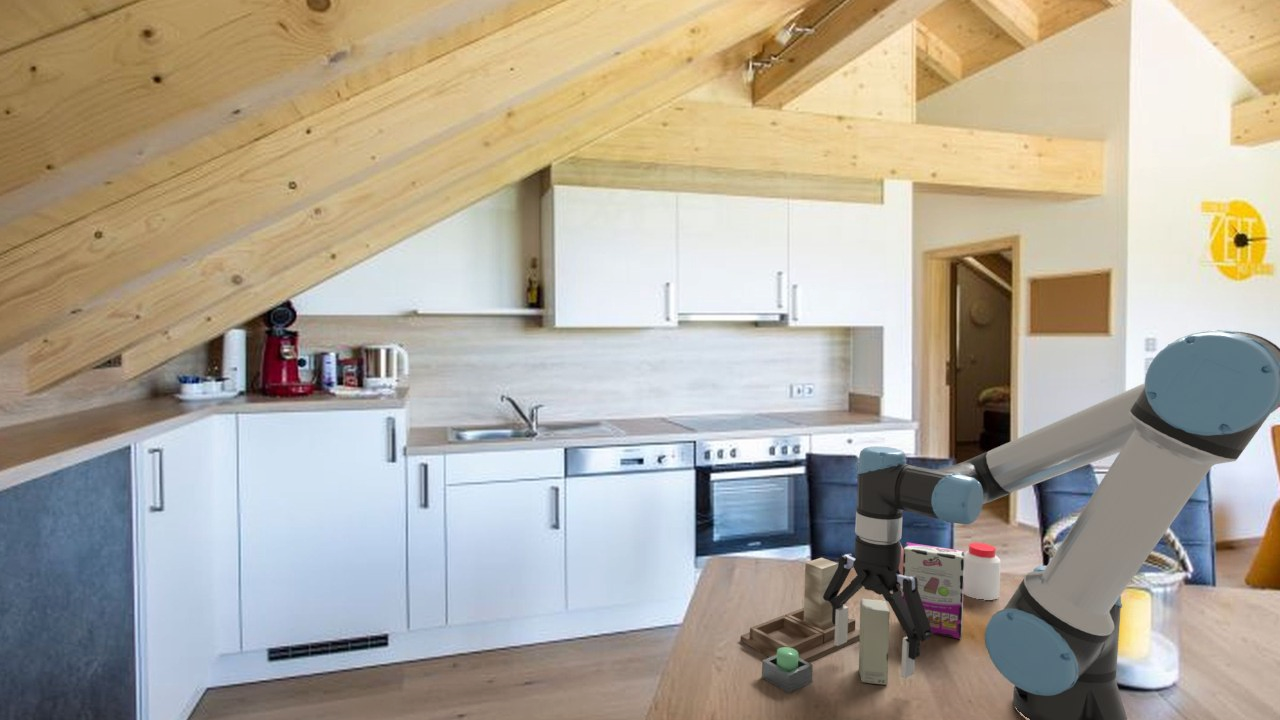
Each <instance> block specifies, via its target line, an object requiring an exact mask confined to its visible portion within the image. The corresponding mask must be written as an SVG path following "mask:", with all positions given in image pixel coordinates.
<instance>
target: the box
mask: <svg viewBox="0 0 1280 720" xmlns="http://www.w3.org/2000/svg"><path fill="white" fill-rule="evenodd" d="M888 605H889V604H888V602H887V601H886V600H881V599H880V600H879V599H870V598H869V599H868V598H860V605H859V607H860V608H859V613H860V614H859V630H860V640H858V642H859V647H858V648H859V651H858V652H859V653H858V673H859V676H860V679H861V682H862V683H866V684H874V685H875V684H876V685H883V686H885V685H886V686H887V685H888V684H889V682H888V680H889V644H890V617H891V615H890V613H891V612H890V609H889V606H888Z"/></svg>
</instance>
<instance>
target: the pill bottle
mask: <svg viewBox="0 0 1280 720" xmlns="http://www.w3.org/2000/svg"><path fill="white" fill-rule="evenodd" d="M996 550H997V549H996V547H995V546H993V545H992V544H987V543H983V542H971V543H969V544H968V550H966V551H965V559H964V592H963V595H965V596H967V597H969V598H971V597H972V599H974V598H976V599H975V600H978V599H984V600H983V601H985V600H992V599H996V598H998V597H999V598H1000V588H1001V587H1000V586H1001V585H1000V583H1001V581H1000V580H1001V566H1002V565H1001V564H1002V562H1001V558H999V557H998V556H997V555H996V554H997V553H996V552H997V551H996ZM999 598H998V599H999Z"/></svg>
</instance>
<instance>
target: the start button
mask: <svg viewBox="0 0 1280 720" xmlns="http://www.w3.org/2000/svg"><path fill="white" fill-rule="evenodd" d="M777 666H779V667H780V668H782V669H784V670H786V671H788V672H790V671H792V670H795V669H797V668H798V652H797V651H796V650H795V649H793V648H789V647H782V648H779V649H778V650H777Z"/></svg>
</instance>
